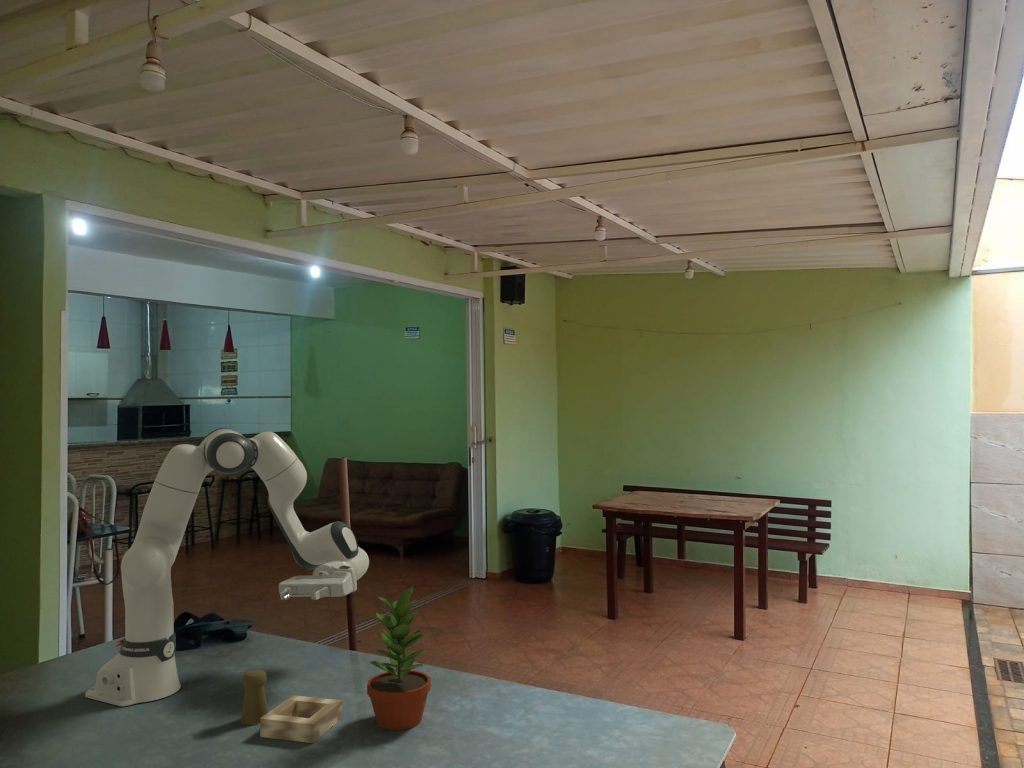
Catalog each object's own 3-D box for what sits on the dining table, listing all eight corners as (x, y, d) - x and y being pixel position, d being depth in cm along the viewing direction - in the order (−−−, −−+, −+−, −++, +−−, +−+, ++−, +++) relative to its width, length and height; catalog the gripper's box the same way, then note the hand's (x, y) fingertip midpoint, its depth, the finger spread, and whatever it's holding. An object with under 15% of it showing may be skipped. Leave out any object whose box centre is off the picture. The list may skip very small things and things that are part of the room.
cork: (259, 726, 167) (259, 677, 167) (235, 724, 168) (235, 675, 168) (273, 715, 172) (273, 667, 173) (250, 713, 174) (249, 666, 174)
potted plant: (352, 730, 164) (351, 594, 165) (388, 703, 178) (387, 578, 179) (411, 740, 158) (410, 600, 159) (443, 712, 173) (442, 583, 173)
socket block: (260, 736, 161) (260, 718, 161) (292, 712, 174) (292, 695, 174) (313, 743, 158) (313, 724, 158) (342, 717, 170) (342, 700, 170)
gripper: (295, 568, 205) (263, 585, 192) (359, 567, 198) (329, 584, 185) (298, 590, 205) (266, 608, 192) (362, 590, 198) (332, 609, 185)
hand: (297, 596), depth 188 cm, fingers open, 8 cm apart
